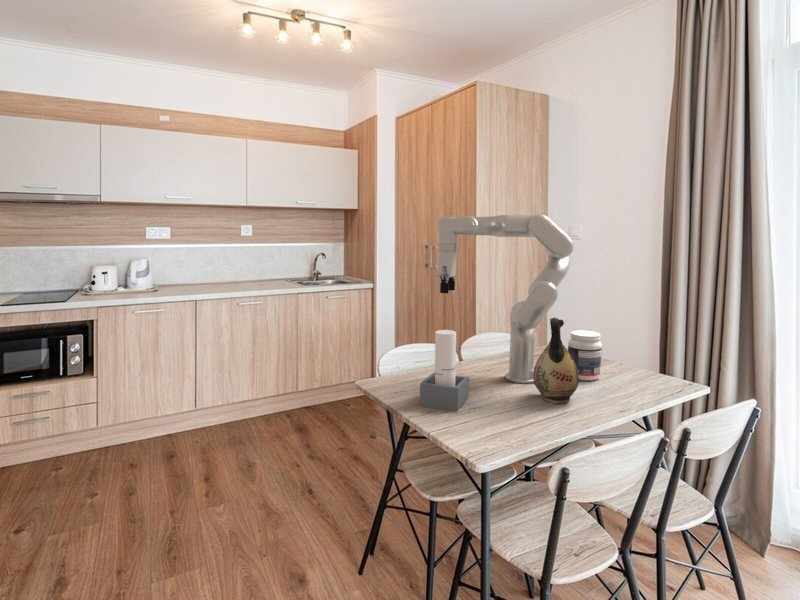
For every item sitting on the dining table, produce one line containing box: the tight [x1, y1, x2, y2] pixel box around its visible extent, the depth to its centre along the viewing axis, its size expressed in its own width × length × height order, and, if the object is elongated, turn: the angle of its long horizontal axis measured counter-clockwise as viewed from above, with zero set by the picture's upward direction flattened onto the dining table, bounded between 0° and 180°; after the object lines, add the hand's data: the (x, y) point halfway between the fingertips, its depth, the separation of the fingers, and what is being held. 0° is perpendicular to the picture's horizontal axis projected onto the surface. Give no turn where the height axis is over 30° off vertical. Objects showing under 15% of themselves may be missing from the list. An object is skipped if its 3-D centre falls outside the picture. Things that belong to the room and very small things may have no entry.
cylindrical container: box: [434, 329, 457, 387], centre depth 169 cm, size 7×7×25 cm
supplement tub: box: [567, 329, 603, 382], centre depth 199 cm, size 13×13×18 cm
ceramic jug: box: [533, 317, 580, 404], centre depth 172 cm, size 17×15×30 cm
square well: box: [419, 372, 470, 412], centre depth 170 cm, size 13×13×8 cm
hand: (447, 291), depth 195 cm, fingers open, 9 cm apart
